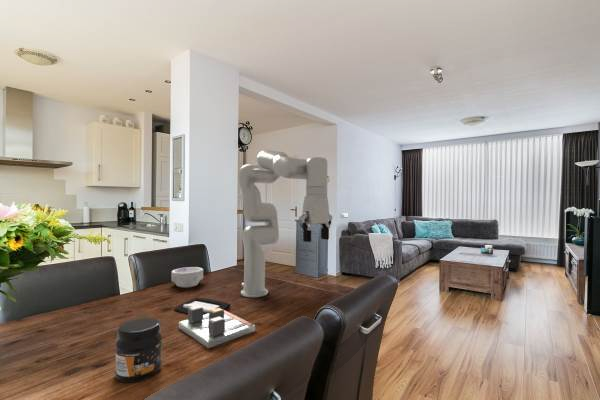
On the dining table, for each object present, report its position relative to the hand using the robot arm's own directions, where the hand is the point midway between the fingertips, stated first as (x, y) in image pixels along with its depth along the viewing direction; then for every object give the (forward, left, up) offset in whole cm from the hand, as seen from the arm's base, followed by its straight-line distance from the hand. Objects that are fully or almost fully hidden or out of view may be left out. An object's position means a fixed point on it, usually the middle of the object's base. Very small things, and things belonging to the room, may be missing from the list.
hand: (316, 240), depth 109 cm
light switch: (-41, -22, -30) cm, 55 cm away
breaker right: (-12, -32, -27) cm, 44 cm away
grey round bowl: (-78, -11, -30) cm, 84 cm away
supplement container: (-11, -55, -30) cm, 64 cm away
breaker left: (-27, -32, -27) cm, 50 cm away
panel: (-20, -28, -29) cm, 45 cm away
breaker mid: (-19, -28, -27) cm, 44 cm away
